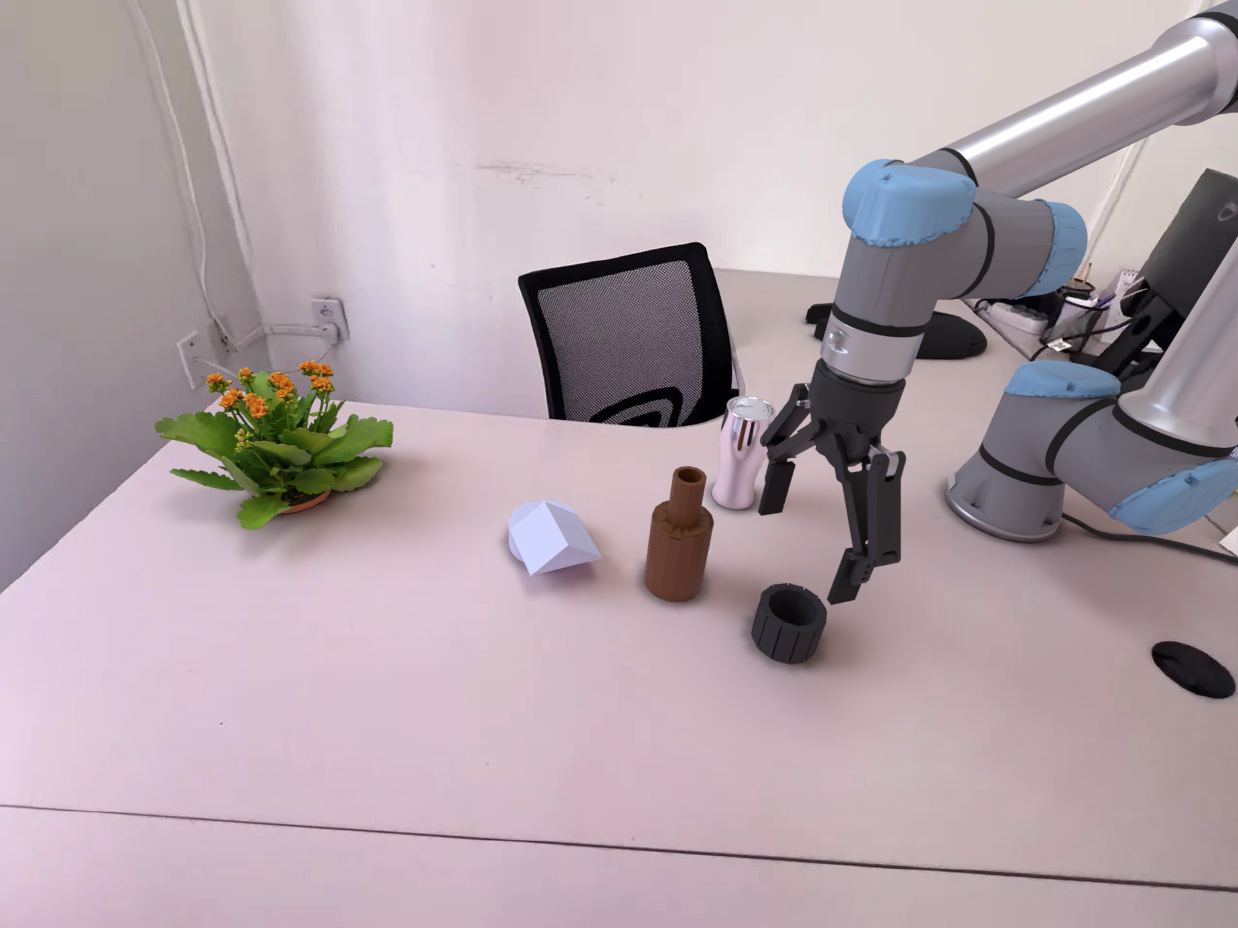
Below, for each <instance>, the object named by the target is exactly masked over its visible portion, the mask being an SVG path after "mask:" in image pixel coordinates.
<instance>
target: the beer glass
mask: <svg viewBox="0 0 1238 928" xmlns="http://www.w3.org/2000/svg"><path fill="white" fill-rule="evenodd" d="M776 416H777V409H776V407H775V406H774V405H773V404H772V403H770V402H769V401H768V400H765V399H763V398H760V397H756V396H749V395H741V396H740V395H739V396H734V397H732V398H730V399H729V400H728V401H727V403H726V407H725V411H724V415H723V418H722V422H721V426H720V431H719V436H718V462H719V463H718V474H717V478H716V480H715V483H714V485H713V488H712V491H711V497H712V499H713V500H714V501H715V503H717V504H718V505H719V506H721V507H724V508H725V509H729V510H745V509H747V508H749V507H751V506H752V505H753V503H754V502H755V501H754V500H755V484H756V481H757V480H756V479H757V477H758V474H759V472H760V471H761V468H762V466H763V463H764V462H765V460H766V458H767V452H768V449H767V447H762V446H761V444H760V438H761V436H762V435H763V433H764V432H765V431H766V429H767V428H768V427H769V425H770V424H771V423H772V421H773V420H774V419H775V418H776Z"/></svg>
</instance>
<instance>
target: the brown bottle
mask: <svg viewBox="0 0 1238 928" xmlns="http://www.w3.org/2000/svg"><path fill="white" fill-rule="evenodd" d="M707 478H708V476H707V475H706V473H705V472H704V470H702V469H700V468H698V467H696V466H691V465H682V466H679V467H677V468H675V469H674V470H673V473H672V479H671V486H670V492H669V498H668V500H665V501H662V502H661V503H659V504H658V505H656V506H655V507H654V509H653V510H652V513H651V519H650V528H649V535H648V542H647V543H648V544H647V552H646V559H645V568H644V584H645V586H646V589H648V591H649V592H650V593H651V594H652V595H654V596H655V597H657V598H659V599H661V600H663V601H667V602H671V603H672V602H673V603H681V602H687V601H689V600H692V599H694V597H696V596H697V595H698V594H699V593H700V591H701V589H702V584H703V582H704V581H703V580H704V576H705V571H706V566H707V560H708V556H709V551H710V545H711V541H712V534H713V530H714V525H715V521H714V517H713V514H712V513H711V512H710V511H709V510H708V509H707V508H706V507H705V506H703V501H704V496H705V491H706V490H705V489H706V485H707Z"/></svg>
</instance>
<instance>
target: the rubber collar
mask: <svg viewBox="0 0 1238 928" xmlns="http://www.w3.org/2000/svg"><path fill="white" fill-rule="evenodd" d="M827 618H828V610H827V608H826V606H825V604H824V602H823V601H822V599H821V598H819V595H817V594H815V593H814V592H813V591H811V590H810V589H808V588H807V587H804V586H801V585H798V584H794V583H791V582H788V583H787V582H783V583H782V582H781V583H774V584H771V585H769V586H767V588H765V589H763V590H762V592H760V597H759V601H758V604H757V608H756V612H755V615H754V619H753V622H752V627H751V632H750V634H751V639H752V640H753V642H754V644H755V646H756V648H758V650H759V651H760V652H762V654H764V655H766V657H768V658H769V659H771V658H772V660H773V661H777V662H780V663H783V664H790V665H794V664H801V663H805V662H807V661H808V660H809V659H810V658H811V657H813V656H814V655H815V653H816V651H817V649H818V645H819V643H820V640H821V638H822V635H823V632H824V629H825V627H826V625H827ZM787 622H788V623H787Z"/></svg>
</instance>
